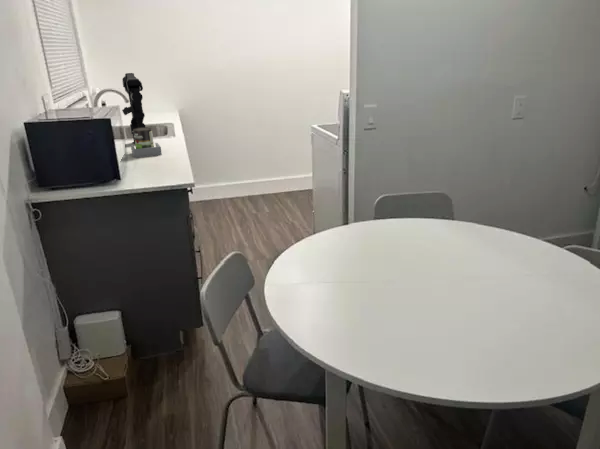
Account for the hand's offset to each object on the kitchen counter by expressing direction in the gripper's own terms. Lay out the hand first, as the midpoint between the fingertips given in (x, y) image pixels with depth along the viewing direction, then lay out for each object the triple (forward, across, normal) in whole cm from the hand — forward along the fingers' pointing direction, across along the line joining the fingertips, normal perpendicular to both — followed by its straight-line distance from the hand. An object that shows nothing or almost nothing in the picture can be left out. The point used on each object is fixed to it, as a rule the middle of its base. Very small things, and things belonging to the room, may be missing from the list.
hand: (140, 128), depth 277 cm
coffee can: (+13, +15, 0) cm, 19 cm away
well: (+13, +16, +1) cm, 20 cm away
